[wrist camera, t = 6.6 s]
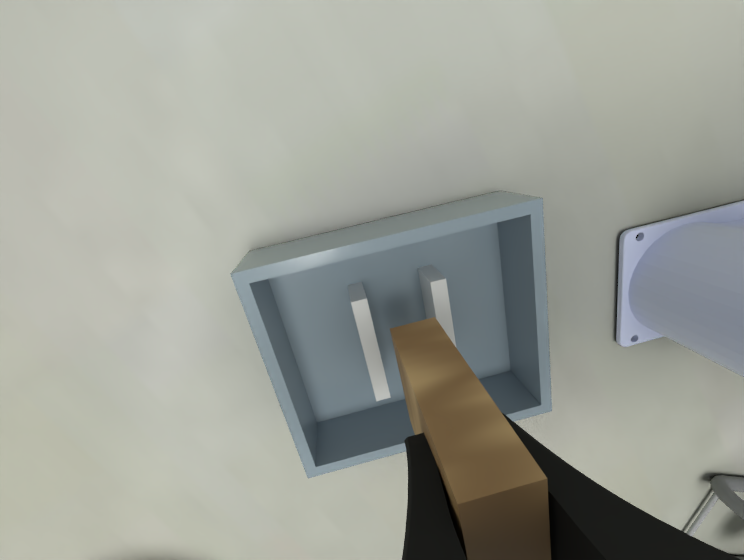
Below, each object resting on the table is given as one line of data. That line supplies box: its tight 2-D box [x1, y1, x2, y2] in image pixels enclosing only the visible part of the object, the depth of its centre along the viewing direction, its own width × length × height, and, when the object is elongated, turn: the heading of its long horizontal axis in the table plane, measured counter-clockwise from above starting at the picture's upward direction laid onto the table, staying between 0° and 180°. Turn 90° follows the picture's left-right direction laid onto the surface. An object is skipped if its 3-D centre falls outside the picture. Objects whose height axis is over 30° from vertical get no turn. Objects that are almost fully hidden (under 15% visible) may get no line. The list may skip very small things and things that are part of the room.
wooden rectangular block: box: [390, 317, 551, 560], centre depth 12 cm, size 2×5×8 cm, turn 12°
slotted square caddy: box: [231, 191, 552, 478], centre depth 19 cm, size 14×12×4 cm
